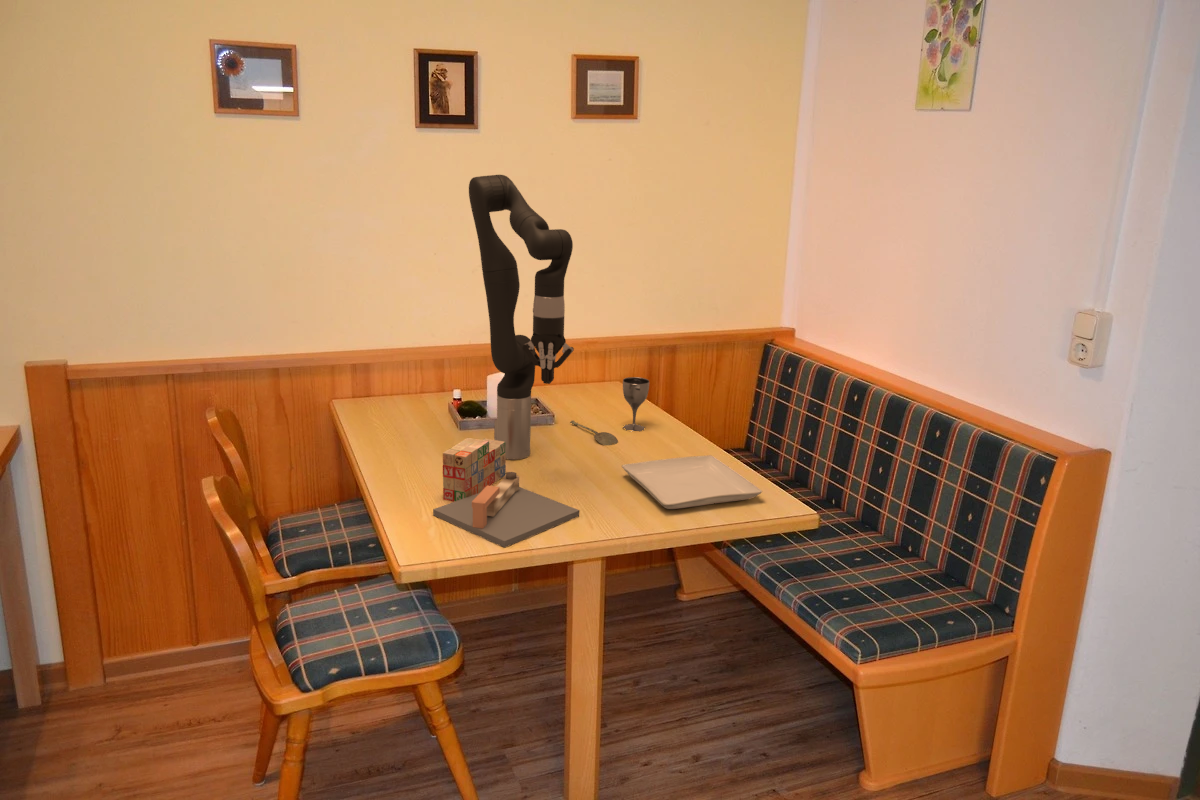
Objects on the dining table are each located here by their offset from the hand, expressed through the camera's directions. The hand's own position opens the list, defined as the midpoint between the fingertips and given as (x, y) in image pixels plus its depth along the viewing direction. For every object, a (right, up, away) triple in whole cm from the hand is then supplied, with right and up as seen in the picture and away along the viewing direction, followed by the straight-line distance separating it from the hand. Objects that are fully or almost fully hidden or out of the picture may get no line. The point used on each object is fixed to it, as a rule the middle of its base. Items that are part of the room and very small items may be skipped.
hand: (547, 382), depth 227 cm
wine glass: (+23, -13, +55) cm, 61 cm away
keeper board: (-9, -31, -11) cm, 34 cm away
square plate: (+36, -27, +9) cm, 46 cm away
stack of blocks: (-18, -26, +5) cm, 32 cm away
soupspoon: (+11, -15, +48) cm, 51 cm away
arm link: (-11, -28, -7) cm, 31 cm away
